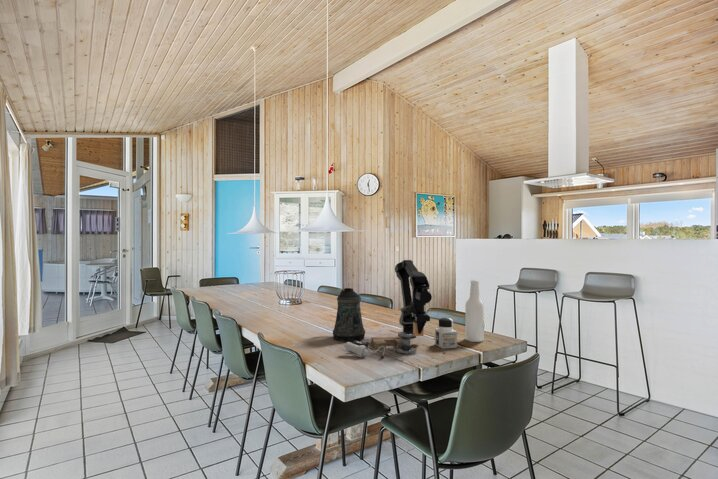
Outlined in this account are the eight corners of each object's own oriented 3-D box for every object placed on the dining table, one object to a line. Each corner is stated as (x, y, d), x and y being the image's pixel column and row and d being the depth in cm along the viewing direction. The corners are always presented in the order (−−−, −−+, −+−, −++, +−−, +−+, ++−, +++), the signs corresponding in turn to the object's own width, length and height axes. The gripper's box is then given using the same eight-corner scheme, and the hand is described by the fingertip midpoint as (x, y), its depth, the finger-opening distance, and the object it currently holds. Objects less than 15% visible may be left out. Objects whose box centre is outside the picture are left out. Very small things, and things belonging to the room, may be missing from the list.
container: (442, 348, 183) (442, 320, 183) (434, 344, 190) (434, 317, 190) (457, 347, 185) (457, 319, 185) (449, 343, 192) (449, 316, 192)
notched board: (371, 342, 193) (371, 337, 193) (403, 341, 195) (403, 336, 195) (374, 348, 182) (374, 343, 182) (409, 347, 184) (409, 342, 184)
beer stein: (351, 344, 190) (351, 291, 190) (321, 338, 202) (321, 288, 202) (371, 337, 204) (371, 288, 204) (342, 332, 215) (342, 285, 215)
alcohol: (487, 341, 196) (487, 280, 196) (471, 343, 193) (472, 281, 193) (476, 337, 204) (477, 279, 204) (461, 338, 201) (462, 279, 201)
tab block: (413, 334, 193) (413, 321, 193) (421, 333, 193) (421, 321, 193) (415, 336, 189) (415, 323, 189) (423, 335, 189) (423, 323, 189)
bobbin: (393, 349, 182) (393, 331, 182) (413, 348, 183) (413, 331, 183) (398, 354, 173) (398, 336, 173) (418, 353, 174) (418, 335, 174)
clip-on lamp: (388, 361, 173) (352, 347, 181) (392, 347, 173) (356, 333, 181) (378, 366, 163) (340, 351, 171) (382, 351, 163) (344, 337, 171)
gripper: (397, 297, 199) (397, 328, 199) (406, 303, 181) (406, 337, 181) (419, 297, 201) (419, 328, 200) (430, 303, 182) (430, 337, 182)
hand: (418, 332), depth 191 cm, fingers closed on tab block, 4 cm apart
